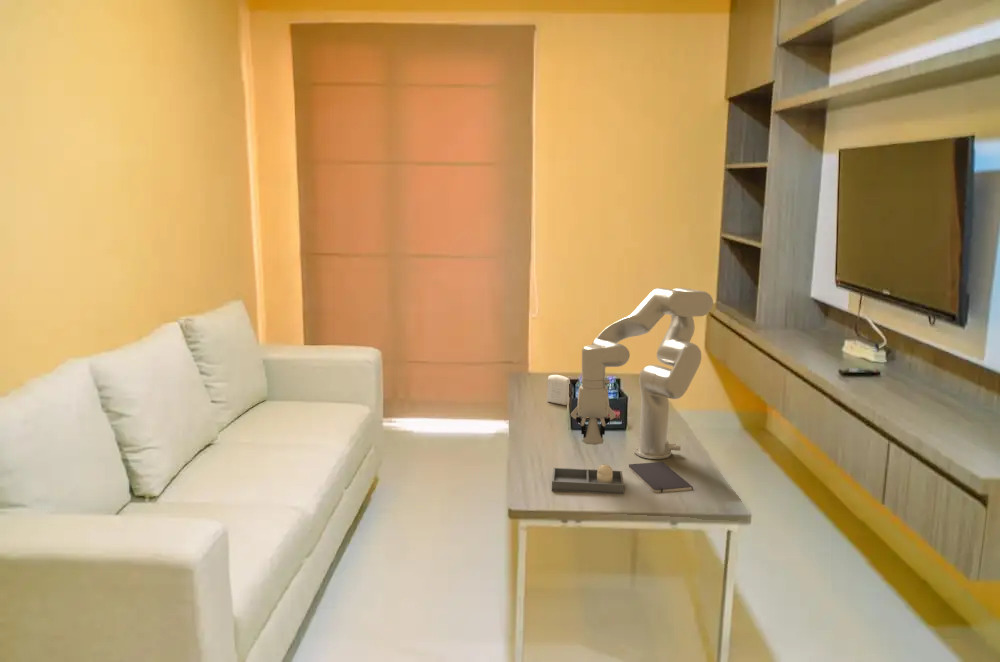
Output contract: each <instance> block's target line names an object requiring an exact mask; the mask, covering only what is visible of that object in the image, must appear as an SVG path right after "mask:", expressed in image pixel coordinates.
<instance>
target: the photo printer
mask: <svg viewBox="0 0 1000 662" xmlns="http://www.w3.org/2000/svg"><path fill="white" fill-rule="evenodd" d="M546 382H547V383H546V384H547V386H546V387H547V390H546V391H547V392H546V401H547V402H548V403H553V404H559V405H563V406H567V405H569V404H568V398H569V399H570V397H569V384H570V385H571V380H570V378H569V377H567V376H564V375H561V374H560V375H559V374H550V375H548V377H547V381H546Z"/></svg>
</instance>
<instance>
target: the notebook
mask: <svg viewBox="0 0 1000 662" xmlns="http://www.w3.org/2000/svg"><path fill="white" fill-rule="evenodd" d="M628 469H629V470H630V471H631V472H632V473H633V475H634V474H635V476H636V477H637V478H639V480H641V482H643V483H644V484H645V486H647V487H648V488H649V489H650V490H651V491H652V492H653V493H665V492H676V491H678V492H679V491H688V490H693V485H691V483H689V482H688V481H686V480H685V479H684V478H683V477H681V475H679V473H677V472H676V471H675V470H673V469H672V467H669V466H668V464H666V463H665V462H664V461H655V462H644V463H643V462H641V463H630V464H628Z"/></svg>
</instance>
